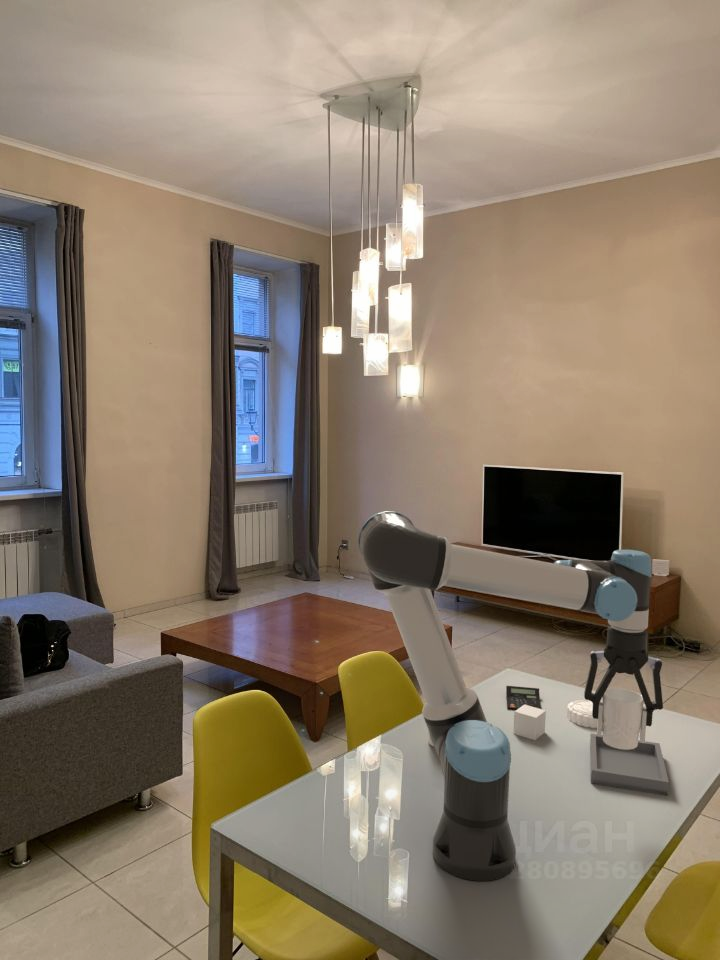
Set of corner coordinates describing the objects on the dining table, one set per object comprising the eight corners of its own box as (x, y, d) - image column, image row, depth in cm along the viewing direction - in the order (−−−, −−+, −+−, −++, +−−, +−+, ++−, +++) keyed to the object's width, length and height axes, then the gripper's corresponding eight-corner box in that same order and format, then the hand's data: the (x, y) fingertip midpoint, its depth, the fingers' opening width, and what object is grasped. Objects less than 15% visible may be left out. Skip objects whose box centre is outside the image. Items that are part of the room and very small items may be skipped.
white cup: (610, 730, 153) (613, 685, 153) (647, 743, 148) (650, 696, 147) (592, 741, 148) (595, 694, 147) (629, 755, 142) (633, 706, 142)
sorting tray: (667, 795, 157) (668, 782, 157) (590, 782, 162) (591, 770, 162) (658, 755, 177) (659, 743, 176) (589, 745, 181) (590, 733, 181)
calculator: (507, 710, 203) (507, 699, 202) (505, 695, 214) (506, 685, 214) (541, 713, 201) (542, 702, 201) (538, 697, 212) (539, 687, 212)
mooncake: (569, 727, 192) (570, 713, 192) (563, 709, 204) (564, 696, 204) (616, 730, 191) (617, 717, 190) (607, 712, 202) (608, 700, 202)
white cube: (523, 726, 192) (524, 704, 191) (544, 732, 188) (545, 710, 188) (513, 733, 187) (514, 711, 186) (535, 740, 183) (536, 717, 183)
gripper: (680, 628, 146) (672, 737, 148) (574, 617, 152) (568, 722, 154) (685, 638, 139) (677, 753, 141) (574, 626, 145) (567, 736, 147)
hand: (620, 736), depth 148 cm, fingers closed on white cup, 8 cm apart
